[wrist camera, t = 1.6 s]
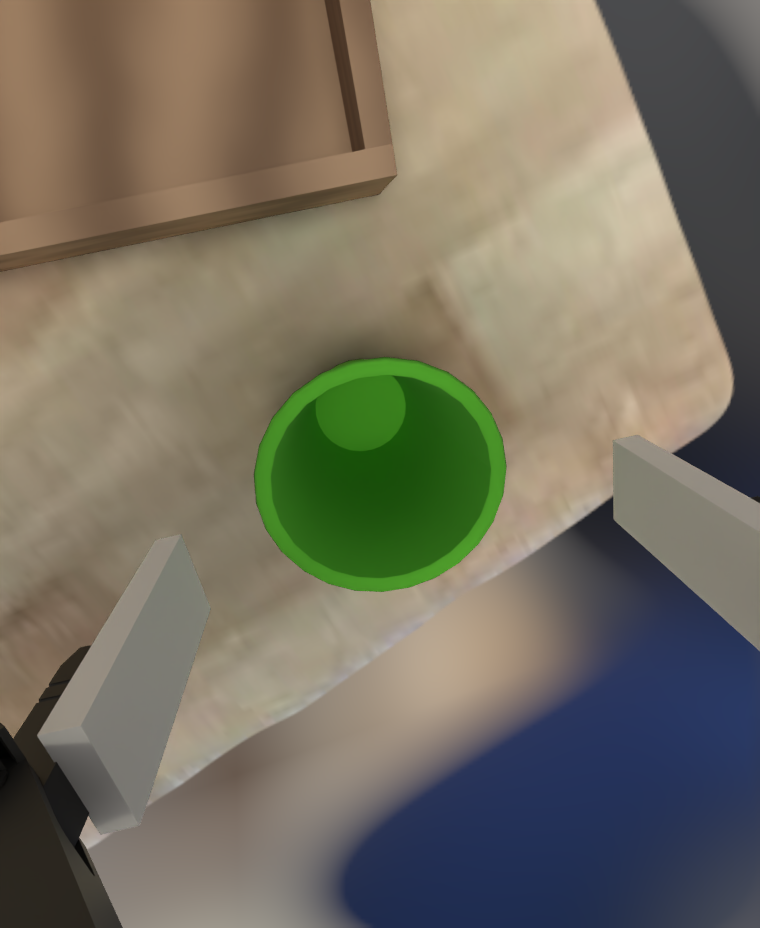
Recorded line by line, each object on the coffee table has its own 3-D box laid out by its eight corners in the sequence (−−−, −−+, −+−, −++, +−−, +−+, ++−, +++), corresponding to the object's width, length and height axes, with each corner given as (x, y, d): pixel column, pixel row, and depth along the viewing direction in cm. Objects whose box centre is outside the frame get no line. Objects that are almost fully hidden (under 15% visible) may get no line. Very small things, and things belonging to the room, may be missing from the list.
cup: (262, 333, 26) (226, 379, 16) (435, 311, 27) (507, 342, 16) (292, 490, 29) (279, 610, 19) (445, 468, 30) (509, 573, 20)
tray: (-84, 288, 24) (-207, 297, 18) (-295, -118, 18) (-564, -284, 13) (378, 194, 24) (397, 174, 19) (308, -223, 19) (304, -424, 13)
